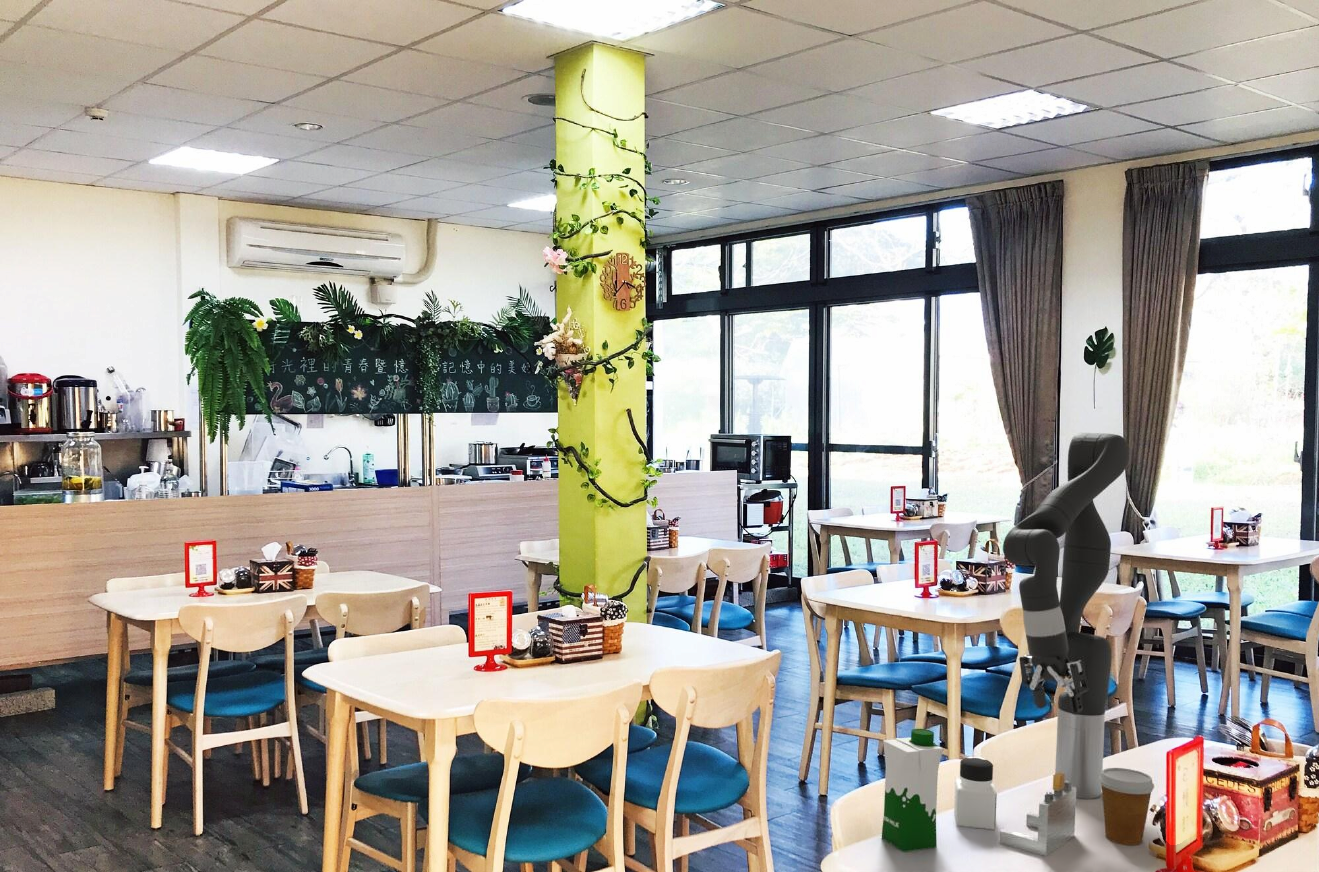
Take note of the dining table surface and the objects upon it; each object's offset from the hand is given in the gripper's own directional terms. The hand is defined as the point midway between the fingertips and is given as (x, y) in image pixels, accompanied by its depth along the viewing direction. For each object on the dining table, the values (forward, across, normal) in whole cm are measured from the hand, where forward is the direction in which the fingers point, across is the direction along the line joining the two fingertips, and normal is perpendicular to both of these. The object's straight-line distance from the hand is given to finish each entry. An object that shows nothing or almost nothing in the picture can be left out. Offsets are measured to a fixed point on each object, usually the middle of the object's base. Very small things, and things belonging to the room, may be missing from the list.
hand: (1059, 710), depth 220 cm
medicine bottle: (+16, +6, +22) cm, 28 cm away
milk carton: (+13, +3, +41) cm, 43 cm away
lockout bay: (+18, -6, +18) cm, 26 cm away
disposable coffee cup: (+22, -13, +3) cm, 26 cm away
